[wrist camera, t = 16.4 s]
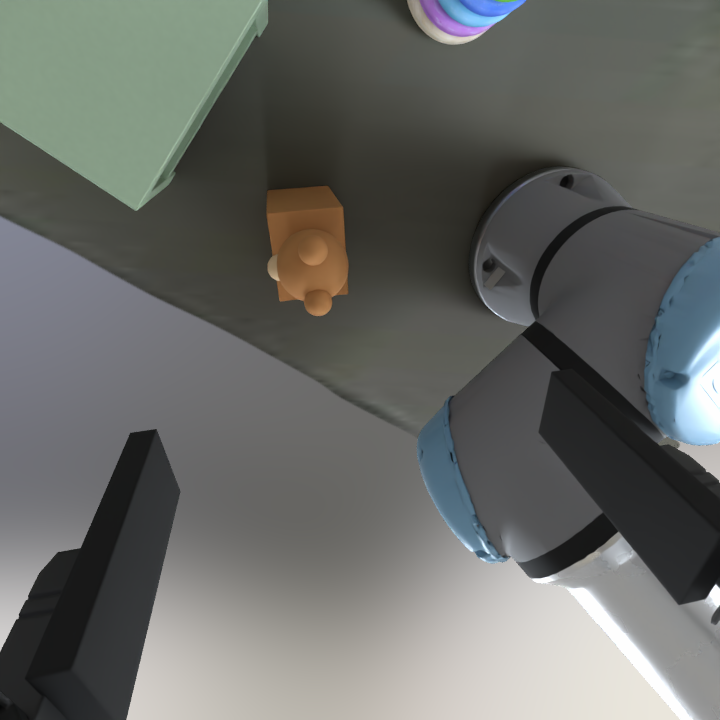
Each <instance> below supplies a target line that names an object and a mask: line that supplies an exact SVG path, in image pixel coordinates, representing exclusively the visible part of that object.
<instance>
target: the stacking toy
mask: <svg viewBox="0 0 720 720" xmlns="http://www.w3.org/2000/svg"><path fill="white" fill-rule="evenodd" d="M525 1H526V0H407V2H408V5H409V9H410V11H411V13H412V16H413V18H414V19H415V21H416V23H417V24H418V26H419V27H420V28H421V29H422V30H423V31H424V32H425V33H426V34H427V35H428V36H430V37H431V38H433V39H434V40H436V41H438V42H441V43H445V44H451V45H454V44H463V43H466V42H469V41H471V40H473V39H475V38H477V37H479V36H480V35H482V34H483V33H484V32H486V31H487V30H488V29H489V28H490V27H492V26H493V25H494V24H495V23H496V22H498V21H500V20H502V19H503V18H505V17H506V16H507V15H508V14H509V13H511V12H512V11H513V10H515V9H516V8H518V7H519V6H520V5H521V4H523V3H524V2H525Z"/></svg>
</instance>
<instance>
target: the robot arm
mask: <svg viewBox="0 0 720 720" xmlns="http://www.w3.org/2000/svg"><path fill="white" fill-rule="evenodd" d="M469 273H470V278H471V282H472V285H473V287H474V290H475V292H476V293H477V295H478V297H479V298H480V299H481V301H482V302H483V303H484V304H485V305H486V306H487V307H488V308H489V309H490V310H492V311H493V312H494V313H495V314H496V315H498V316H499V317H501V318H503V319H505V320H507V321H510V322H513V323H516V324H521V325H525V326H529V327H528V328H527V329H526V330H525V331H524V332H523V333H521V334H520V335H519V336H518V337H517V338H516V339H515V340H514V341H513V342H512V343H511V344H509V345H508V346H507V347H506V348H505V349H504V350H503V351H502V352H501V353H500V354H499V355H498V356H497V357H496V358H495V359H493V360H492V361H491V362H490V363H489V364H488V365H487V366H486V367H485V368H484V369H483V370H482V371H481V372H480V373H479V374H478V375H476V376H475V377H474V378H473V379H472V380H471V381H470V382H469V383H468V384H467V385H466V386H465V387H464V388H463V389H462V390H461V391H459V392H458V393H457V394H456V395H455V396H450V397H449V398H448V399H447V400H446V401H445V404H444V406H443V407H442V408H441V409H440V410H439V411H438V412H437V413H436V414H435V416H434V417H433V418H432V419H431V420H430V421H429V422H428V423H427V424H426V425H425V426H424V427H423V429H422V430H421V432H420V434H419V437H418V442H417V458H418V461H419V465H420V471H421V474H422V477H423V480H424V483H425V485H426V487H427V490H428V492H429V494H430V496H431V498H432V500H433V502H434V504H435V506H436V507H437V509H438V511H439V512H440V514H441V516H442V517H443V519H444V520H445V522H446V523H447V525H448V526H449V527H450V529H451V530H452V532H453V533H454V534H455V535H456V537H457V538H458V539H459V540H460V541H461V542H462V543H463V544H464V545H465V547H467V548H468V549H469V550H470V551H473V552H475V553H476V555H477V557H478V558H480V559H481V560H483V561H485V562H488V563H497V562H505V561H507V560H508V559H509V558H510V557H512V558H513V559H514V560H515V561H516V562H517V563H518V565H519V566H520V567H521V568H522V569H523V570H524V572H525V573H526V574H527V575H528V576H529V577H530V578H531V579H532V580H533V581H534V582H537V583H543V584H551V585H557V586H561V587H564V588H566V589H568V590H569V592H570V593H571V594H572V595H573V596H574V597H575V599H576V600H577V601H578V602H579V603H580V604H581V606H582V607H583V608H584V609H585V610H586V611H587V612H588V614H589V615H590V616H591V617H592V618H593V619H594V620H595V622H596V623H597V624H598V625H599V626H600V627H601V629H602V630H603V631H604V632H605V633H606V634H607V635H608V637H609V638H610V639H611V640H612V641H613V642H614V643H615V645H616V646H617V647H618V648H619V649H620V650H621V651H622V653H623V654H624V655H625V656H626V657H627V658H628V660H629V661H630V662H631V663H632V664H633V665H634V666H635V668H636V669H637V670H638V671H639V672H640V673H641V674H642V676H643V677H644V678H645V679H646V680H647V681H648V683H649V684H650V685H651V686H652V687H653V688H654V689H655V690H656V692H657V693H658V694H659V695H660V696H661V697H662V699H663V700H664V701H665V702H666V703H667V704H668V706H669V707H670V708H671V709H672V710H673V711H674V712H675V713H676V715H677V716H678V717H679V718H680V719H681V720H720V483H719V480H718V479H716V478H715V477H714V476H713V475H712V474H711V473H709V472H706V470H705V468H703V467H702V466H701V465H700V464H699V463H697V462H696V461H695V460H694V459H693V458H691V457H690V456H689V455H687V454H685V453H684V452H681V451H680V450H678V449H676V448H674V447H672V446H670V445H662V446H659V445H658V444H657V443H659V442H660V441H661V440H663V439H664V438H665V437H667V436H668V437H669V438H671V439H673V440H677V441H680V442H684V443H687V444H691V445H699V446H700V445H712V444H716V443H719V441H720V232H717V231H713V230H709V229H706V228H702V227H699V226H695V225H691V224H688V223H684V222H681V221H677V220H673V219H670V218H666V217H663V216H659V215H655V214H652V213H648V212H645V211H640V210H637V209H634V208H632V207H631V206H630V205H629V204H628V203H627V202H626V201H625V200H624V198H623V197H622V196H621V195H620V194H619V193H618V192H617V191H616V190H615V189H614V188H613V187H612V186H611V185H610V184H609V183H608V182H606V181H605V180H604V179H603V178H601V177H600V176H598V175H596V174H594V173H592V172H589V171H585V170H581V169H576V168H571V167H550V168H545V169H541V170H538V171H535V172H532V173H530V174H528V175H526V176H524V177H522V178H520V179H519V180H517V181H516V182H514V183H513V184H511V185H510V186H509V187H507V188H506V189H505V190H504V191H503V192H502V193H501V194H500V195H499V196H498V197H497V198H496V199H495V200H494V201H493V203H492V204H491V205H490V206H489V208H488V209H487V211H486V212H485V213H484V215H483V217H482V219H481V220H480V222H479V224H478V226H477V228H476V231H475V234H474V236H473V240H472V243H471V248H470V254H469ZM179 495H180V489H179V487H178V484H177V481H176V479H175V476H174V474H173V472H172V469H171V466H170V463H169V461H168V458H167V456H166V453H165V450H164V448H163V445H162V442H161V440H160V437H159V434H158V432H157V429H155V430H147V431H141V432H134V433H130V435H129V438H128V440H127V442H126V444H125V447H124V449H123V451H122V454H121V456H120V458H119V461H118V463H117V465H116V468H115V470H114V472H113V475H112V477H111V479H110V482H109V484H108V486H107V488H106V491H105V493H104V495H103V498H102V500H101V502H100V505H99V507H98V509H97V512H96V514H95V516H94V519H93V521H92V523H91V526H90V528H89V530H88V532H87V535H86V537H85V539H84V542H83V544H82V547H81V548H80V549H74V550H69V551H63V552H58V553H57V554H56V555H55V556H54V557H53V558H52V560H51V561H50V562H49V563H48V564H47V565H46V566H45V567H44V569H43V570H42V571H41V572H40V573H39V575H38V577H37V579H36V581H35V583H34V585H33V587H32V589H31V591H30V593H29V595H28V600H26V601H25V603H24V605H23V607H22V609H21V611H20V613H19V619H17V620H16V621H15V623H14V625H13V627H12V629H11V632H10V633H9V636H8V638H7V639H6V642H5V643H4V645H3V647H2V650H1V652H0V720H126V718H127V714H128V710H129V706H130V702H131V697H132V693H133V689H134V685H135V680H136V676H137V672H138V668H139V664H140V659H141V655H142V651H143V646H144V642H145V638H146V634H147V630H148V626H149V621H150V617H151V613H152V608H153V604H154V600H155V596H156V592H157V588H158V583H159V579H160V575H161V571H162V566H163V562H164V558H165V554H166V549H167V545H168V541H169V537H170V533H171V528H172V524H173V520H174V516H175V511H176V507H177V503H178V499H179Z"/></svg>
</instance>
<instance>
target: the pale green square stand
mask: <svg viewBox="0 0 720 720" xmlns="http://www.w3.org/2000/svg"><path fill="white" fill-rule="evenodd" d="M267 24H268V0H0V122H1V123H3V124H4V125H6V126H7V127H9V128H10V129H12V130H13V131H15V132H16V133H18V134H19V135H21V136H22V137H24V138H25V139H27V140H28V141H30V142H32V143H33V144H35V145H36V146H38V147H39V148H41V149H42V150H44V151H45V152H47V153H48V154H50V155H51V156H53V157H54V158H56V159H57V160H59V161H60V162H62V163H64V164H65V165H67V166H68V167H70V168H71V169H73V170H74V171H76V172H77V173H79V174H80V175H82V176H83V177H85V178H86V179H88V180H89V181H91V182H92V183H94V184H96V185H97V186H99V187H100V188H102V189H103V190H105V191H106V192H108V193H109V194H111V195H112V196H114V197H115V198H117V199H118V200H120V201H121V202H123V203H124V204H126V205H128V206H129V207H131V208H132V209H134V210H135V211H137V210H138V209H139V208H141V207H142V206H143V205H144V204H145V203H147V202H148V201H149V200H150V199H152V198H153V197H154V196H155V195H157V194H158V193H159V192H160V191H162V190H163V189H164V188H165V187H167V186H168V185H169V184H170V182H171V181H172V179H173V177H174V176H175V174H176V173H175V172H174V169H175V167H176V166H177V164H178V162H179V161H180V159H181V158H182V156H183V154H184V153H185V151H186V149H187V148H188V146H189V144H190V143H191V141H192V140H193V138H194V136H195V135H196V133H197V131H198V130H199V128H200V126H201V125H202V123H203V122H204V120H205V118H206V117H207V115H208V113H209V112H210V110H211V108H212V107H213V105H214V104H215V102H216V100H217V99H218V97H219V95H220V94H221V92H222V90H223V89H224V87H225V86H226V84H227V82H228V81H229V79H230V77H231V76H232V74H233V72H234V71H235V69H236V67H237V66H238V64H239V63H240V61H241V59H242V58H243V56H244V54H245V53H246V51H247V49H248V48H249V46H250V45H251V43H252V41H253V40H254V38H255V36H256V35H257V36H258V37H260V36H261V34H262V32H263V31H264V29H265V27H266V26H267Z"/></svg>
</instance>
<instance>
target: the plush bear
mask: <svg viewBox="0 0 720 720" xmlns="http://www.w3.org/2000/svg"><path fill="white" fill-rule="evenodd" d="M267 221H268V228H269V234H270V241H271V247H272V254H273V256H272V257H271V258H270V260H269V262H268V265H267V269H268V272H269V274H270V276H271V277H272V278H273V279H275V280H277V287H278V294H279V300H280V301H288V300H297V299H299V300H302V301H304V305H305V308H306V310H307V311H308V312H309V313H310V314H312V315H315V316H322V315H325V314H326V313H327V312H328V311H329V310H330V309H331V306H332V298H331V297H333V296H334V295H342V294H348V278H347V275H348V269H349V264H348V258H347V254H346V245H345V228H344V212H343V207H342V205H341V204H340V202H339V201H338V199H337V198H336V197H335V195H334V194H333V192H332V191H331V190H330V188H329V187H328V186H316V187H303V188H290V189H277V190H267Z"/></svg>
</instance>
